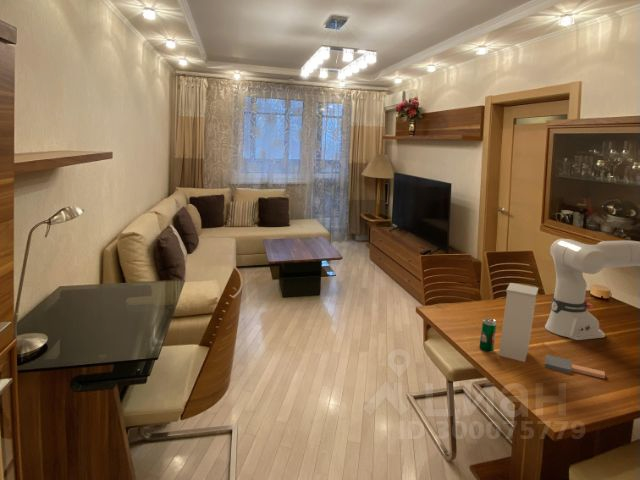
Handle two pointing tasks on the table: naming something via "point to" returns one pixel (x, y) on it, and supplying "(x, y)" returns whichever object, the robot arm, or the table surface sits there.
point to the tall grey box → (517, 321)
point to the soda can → (488, 335)
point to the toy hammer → (570, 367)
